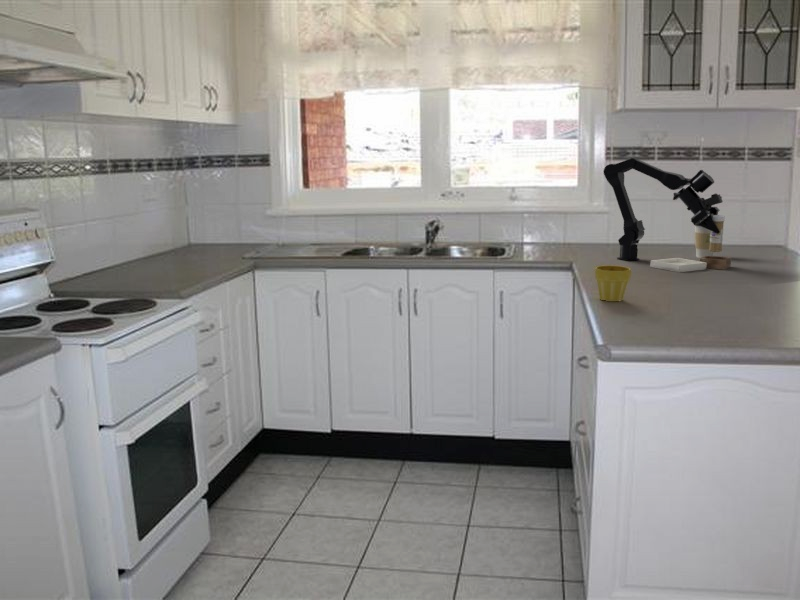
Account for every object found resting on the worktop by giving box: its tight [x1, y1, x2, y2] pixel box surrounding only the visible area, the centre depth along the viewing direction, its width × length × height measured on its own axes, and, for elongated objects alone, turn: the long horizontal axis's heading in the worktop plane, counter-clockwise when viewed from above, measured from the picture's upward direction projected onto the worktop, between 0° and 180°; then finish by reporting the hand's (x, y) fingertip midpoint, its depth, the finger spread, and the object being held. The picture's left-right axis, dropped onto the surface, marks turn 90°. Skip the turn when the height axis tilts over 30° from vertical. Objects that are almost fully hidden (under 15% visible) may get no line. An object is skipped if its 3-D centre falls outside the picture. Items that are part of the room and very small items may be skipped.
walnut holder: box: [699, 255, 732, 271], centre depth 292 cm, size 9×9×4 cm
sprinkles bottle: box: [709, 214, 725, 253], centre depth 290 cm, size 5×5×13 cm
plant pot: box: [594, 264, 632, 302], centre depth 232 cm, size 10×10×10 cm
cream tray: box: [649, 257, 707, 273], centre depth 290 cm, size 14×14×2 cm
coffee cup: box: [694, 221, 714, 259], centre depth 316 cm, size 10×10×15 cm
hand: (720, 232), depth 289 cm, fingers closed on sprinkles bottle, 4 cm apart
